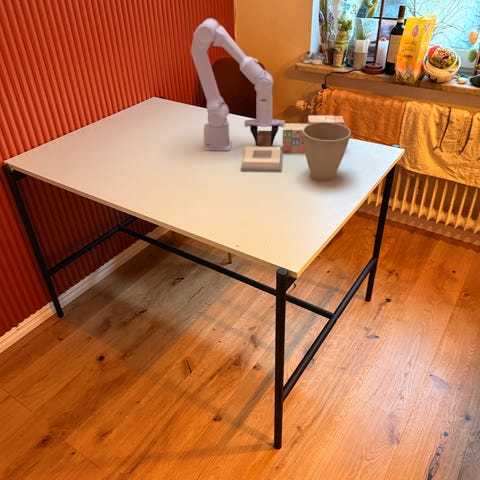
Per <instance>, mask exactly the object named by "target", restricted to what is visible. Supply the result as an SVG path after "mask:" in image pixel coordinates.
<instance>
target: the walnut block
mask: <svg viewBox="0 0 480 480" xmlns="http://www.w3.org/2000/svg"><path fill="white" fill-rule="evenodd" d="M256 147H272V146H271V130H258V134H257V146H256Z"/></svg>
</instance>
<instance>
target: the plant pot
mask: <svg viewBox="0 0 480 480" xmlns="http://www.w3.org/2000/svg"><path fill="white" fill-rule="evenodd" d="M351 132H352V131H351V130H350V128H348V127H347V126H346V125H344V126H343V125H341V124H337V123H331V122H318V123H312V124H309V125H307V126H306V127H304V129H303V138H304V148H305V153H304V155H305V158H306V162H307V166H308V169H309V172H310V176H311V177H312V178H313V179H314V180H316V181H321V182H324V181H325V182H326V181H330V180H332V179H333V178H334V176H335V175H336V173H337V171H338V169H339V167H340V165H341V162H342V161H343V158H344V156H345V153H346V150H347V147H348V144H349V140H350V137H351Z"/></svg>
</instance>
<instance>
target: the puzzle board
mask: <svg viewBox="0 0 480 480" xmlns="http://www.w3.org/2000/svg"><path fill="white" fill-rule="evenodd" d="M243 152H244V153H243V157H242V161H241V167H240V171H241V172H252V173H253V172H256V173H257V172H259V173H260V172H262V173H263V172H265V173H282V169H283V167H282V166H283V155H284V153H283V150H281V146H271V147H257V146H249V145H248V146H246V147H245V150H244V151H243Z"/></svg>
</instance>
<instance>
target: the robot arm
mask: <svg viewBox="0 0 480 480" xmlns="http://www.w3.org/2000/svg"><path fill="white" fill-rule="evenodd" d="M192 35H193V36H192V37H193V38H192V43H191V47H190V53H191V56H192V60H193V62H194V66H195V68H196V71H197V74H198V78H199V82H200V84H201V88H202V91H203V93H204V96H205V100H206V110H207V122H208V123H204V126H203V139H204V151H230V150H231V147H232V142H233V141H232V140H230V125H229V124H230V123H229V121H228V118H227V117H228V116H229V115H230V114H229V113H230V109H229V106H228V105H227V104H226V103H225V100H224V98H223V97H222V96H221V93H220V91H219V88H218V85H217V84H218V83H217V81H216V79H215V75H214V72H213V68H212V65H211V62H210V58H209V55H208V49H209V48H210V46H211V44H212V43H213V44H212V46H214V47H222V48H223V49H224V50H225V51H226V52H227V53H228V54H229V55H230V56H231V57H232V58H233V59H234V60H235V61H236V62H237V63H238V64H239V70H240V71H241V73H243V75H244V76H245V77H246V78H247V79H248V81H250V83H252V84H253V85H254V90H255V92H256V99H255V100H256V101H255V102H256V109H255V110H256V118H254V119H244V124H243V125H244V128H248V127H249V130H250V133H251V134H252V136H253V139H254V143H255V147H257V134H258V131H259V130H258V129H259V127H261V128H267V127H271V130H270V131H271V147H274V140H275V138H276V135H277V133H278V131H279V127H281V128H283V126H284V124H285V120H284V119H283V120H281V119H274V118H273V86H274V78H273V76H272V74H271V73H270V72H267V70H266V69H263V68H262V66H261V65H260V64H259V63H258V62H259V61H258V59H257V58H255V57H252V56H247V55H246V54H245V52H243V50H242V49H241V48H240V47H239V46H238V44H237V43H236V42H235V40H234V39H233V38H232V37H231V36H230V34H229V33H228V32H227V30H226V29H225V27H224V26H223V25H220V23H219V22H218V21H217V20H216V18H215V19H214V18H211V17H210V18H209V17H208V18H206V19H205V20H204V21H203V22H202V23H201V24H199V25H198V26H197V27H196V30H195V31H194V32H193V34H192Z"/></svg>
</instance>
